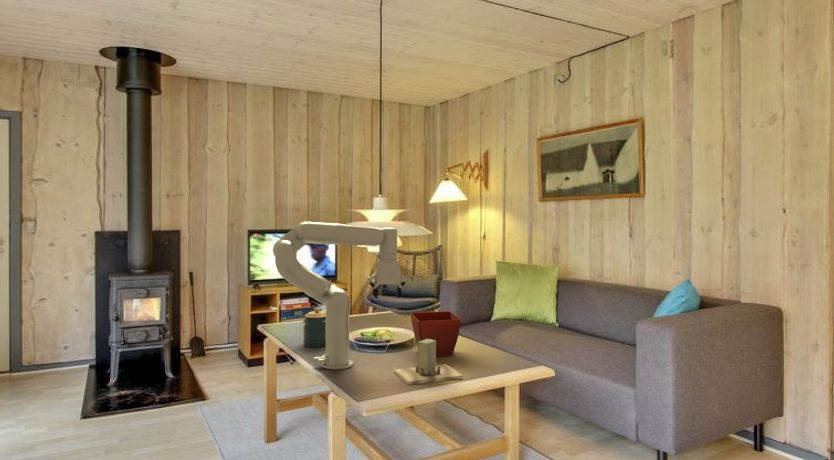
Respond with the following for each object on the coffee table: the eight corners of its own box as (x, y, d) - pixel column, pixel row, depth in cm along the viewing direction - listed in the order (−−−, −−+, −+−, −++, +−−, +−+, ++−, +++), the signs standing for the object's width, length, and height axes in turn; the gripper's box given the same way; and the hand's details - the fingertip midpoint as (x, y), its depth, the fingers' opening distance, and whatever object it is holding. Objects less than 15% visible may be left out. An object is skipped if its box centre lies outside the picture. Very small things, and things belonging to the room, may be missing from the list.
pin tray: (407, 384, 194) (407, 374, 194) (394, 372, 209) (394, 363, 209) (462, 378, 202) (462, 368, 202) (446, 367, 217) (446, 358, 217)
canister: (298, 344, 255) (298, 307, 255) (323, 340, 263) (322, 304, 263) (310, 349, 245) (310, 311, 244) (335, 345, 253) (335, 308, 252)
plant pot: (418, 360, 228) (418, 320, 227) (410, 348, 247) (410, 312, 246) (461, 357, 232) (461, 319, 231) (450, 347, 250) (450, 311, 250)
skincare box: (427, 369, 210) (427, 338, 209) (436, 371, 207) (436, 340, 206) (417, 372, 205) (417, 341, 204) (426, 375, 202) (426, 343, 202)
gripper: (369, 257, 219) (368, 299, 220) (410, 257, 224) (409, 298, 225) (366, 256, 226) (365, 296, 227) (405, 256, 231) (404, 295, 232)
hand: (387, 297), depth 226 cm, fingers open, 9 cm apart
